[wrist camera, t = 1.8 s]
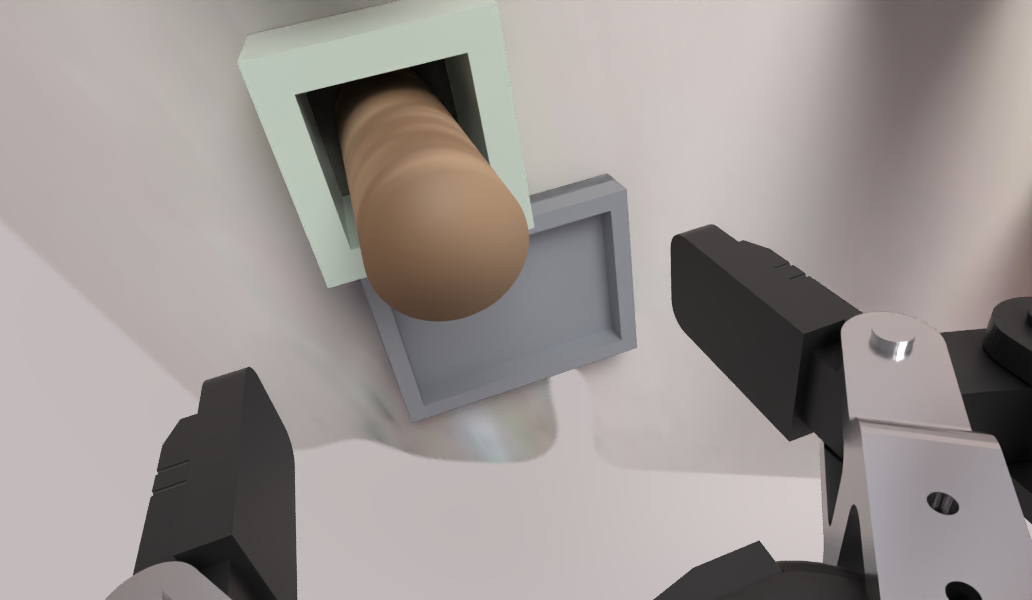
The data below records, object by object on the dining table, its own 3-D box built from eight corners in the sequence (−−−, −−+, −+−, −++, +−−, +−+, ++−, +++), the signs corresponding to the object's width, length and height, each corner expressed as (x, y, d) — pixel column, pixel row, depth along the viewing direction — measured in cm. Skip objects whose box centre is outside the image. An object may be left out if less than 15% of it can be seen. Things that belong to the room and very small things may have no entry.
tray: (607, 173, 29) (626, 189, 27) (620, 326, 34) (636, 347, 32) (352, 246, 27) (355, 267, 25) (406, 396, 32) (412, 422, 30)
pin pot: (461, -14, 23) (497, 2, 19) (498, 180, 27) (534, 227, 23) (247, 34, 22) (237, 62, 18) (322, 230, 26) (327, 288, 22)
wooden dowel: (424, 51, 24) (515, 148, 14) (447, 151, 26) (539, 294, 16) (319, 76, 23) (338, 196, 13) (353, 176, 25) (389, 341, 16)
